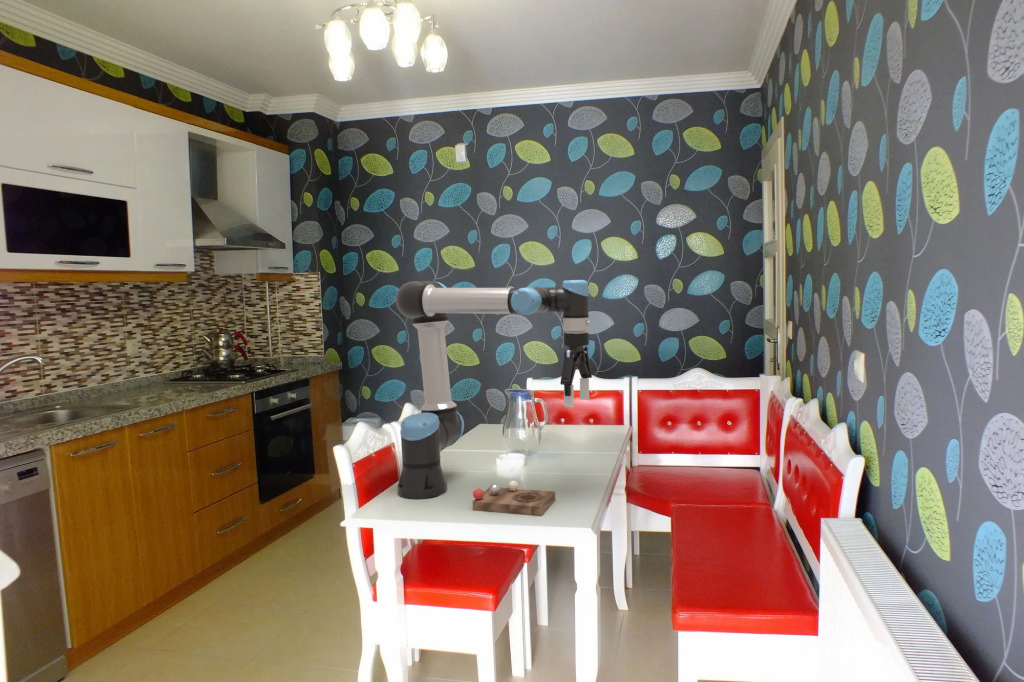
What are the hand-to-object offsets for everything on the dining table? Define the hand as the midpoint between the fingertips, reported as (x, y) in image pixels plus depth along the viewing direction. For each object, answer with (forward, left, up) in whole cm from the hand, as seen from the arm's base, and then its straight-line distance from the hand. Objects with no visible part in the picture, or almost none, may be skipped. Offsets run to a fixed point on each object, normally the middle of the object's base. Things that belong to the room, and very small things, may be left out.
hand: (577, 403), depth 201 cm
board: (-14, -18, -27) cm, 35 cm away
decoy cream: (-16, -13, -23) cm, 31 cm away
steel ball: (-20, -18, -23) cm, 35 cm away
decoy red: (-23, -23, -23) cm, 40 cm away
